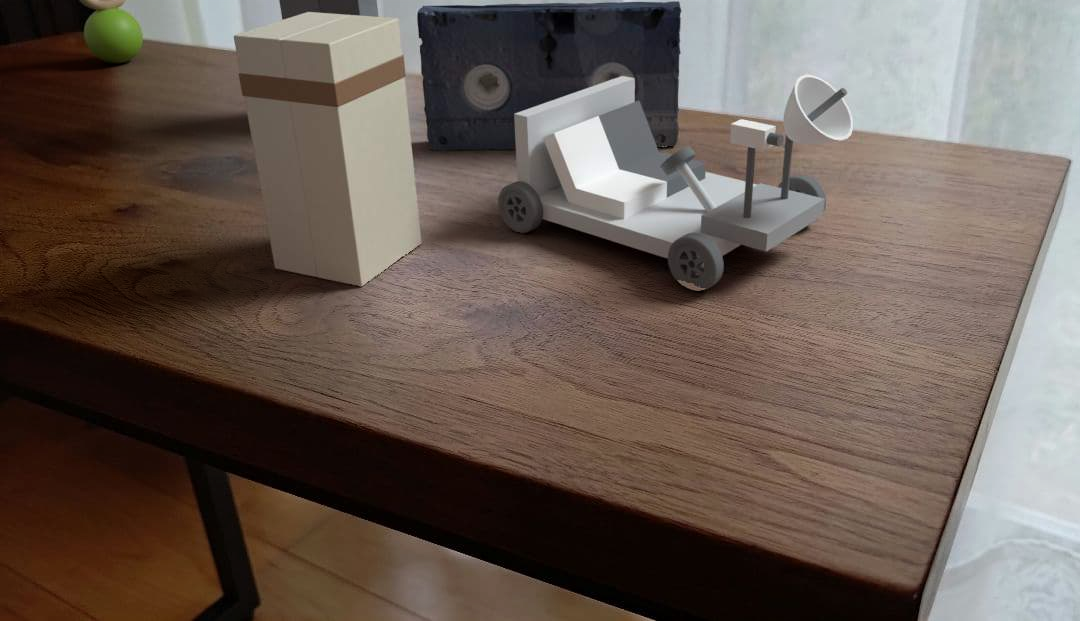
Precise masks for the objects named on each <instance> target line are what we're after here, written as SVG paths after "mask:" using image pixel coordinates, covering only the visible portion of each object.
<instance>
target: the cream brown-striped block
mask: <svg viewBox="0 0 1080 621" xmlns="http://www.w3.org/2000/svg"><path fill="white" fill-rule="evenodd" d="M233 41H234V47H235V48H234V49H235V52H236V59H237V64H238V70H239V73H238V78H239V84H240V89H241V95H242V96H243V98H244V103H245V109H246V114H247V118H248V119H247V120H248V126H249V131H250V136H251V141H252V147H253V148H252V149H253V154H254V159H255V166H256V170H257V176H258V181H259V187H260V191H261V198H262V203H263V209H264V215H265V220H266V226H267V231H268V236H269V243H270V249H271V253H272V259H273V265H274V268H275V269H276V270H281V271H285V272H290V273H294V274H299V275H305V276H308V277H309V276H310V277H312V278H313V277H314V278H318V279H323V280H329V281H332V282H337V283H343V284H346V285H351V284H352V285H351V286H356V285H357V287H363V286H365V285H366V284H368V283H369V282H370V281H372V280H373V279H375V278H376V277H377V275H378V274H379V275H380V274H382V273H383V272H385V271H386V270H387V269H389V268H390V267H391V266H390V265H392V264H393V263H394V262H396V261H397V260H398V259H400V258H401V257H402V256H404V257H406V256H405V254H407V255H409V254H410V253H411V252H410V251H412V250H413V249H414V248H415V247H417V246H418V245H419V244H421V245H422V235H421V234H422V233H421V227H420V226H421V225H420V216H419V215H420V214H419V205H418V195H417V185H416V177H415V175H416V174H415V166H414V158H413V148H412V146H413V145H412V137H411V136H412V135H411V128H410V126H411V125H410V117H409V108H408V98H407V88H406V87H407V86H406V76H407V75H406V64H405V56H404V54H403V47H402V38H401V27H400V19H399V18H397V17H387V16H386V17H383V16H378V17H372V16H358V15H352V16H351V15H344V14H330V13H316V12H306V13H303V14H300V15H297V16H294V17H291V18H287V19H284V20H282V19H280V20H278V21H274V22H272V23H269V24H266V25H262V26H259V27H255V28H253V29H250V30H247V31H244V32H240V33H237V34H235V35H233ZM417 248H418V247H417ZM414 250H415V249H414ZM414 250H413V251H414ZM413 251H412V252H413ZM409 252H410V253H409ZM408 253H409V254H408ZM400 260H401V259H400ZM397 262H398V261H397ZM397 262H396V263H397ZM393 265H394V264H393ZM393 265H392V266H393ZM389 266H390V267H389ZM388 267H389V268H388ZM385 269H386V270H385ZM384 270H385V271H384ZM381 272H382V273H381ZM379 275H378V276H379ZM375 276H376V277H375ZM374 277H375V278H374ZM368 281H369V282H368ZM367 282H368V283H367Z"/></svg>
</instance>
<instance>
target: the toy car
mask: <svg viewBox="0 0 1080 621" xmlns="http://www.w3.org/2000/svg"><path fill="white" fill-rule="evenodd" d="M847 94H848V91H847V89H846V88H845V87H841V88H840V89H839V90H837V89H836V88H835V87H834V86H833V85H832V84H830V83H829V82H827V81H826V80H824V78H821V77H819V76H816V75H813V74H804V75H801V76H799V77H798V78H797V80H796V82H795V83H794V86H793V87H792V90H791V92H790V94H789V97H788V99H787V102H786V105H785V108H784V112H783V121H782V126H783V130H784V134H785V137H784V135H783V134H782V133H776V130H777V129H776V127H777V126H776V125H774V124H773V125H772V124H769V123H768V124H767V123H762V122H758V121H754V120H746V119H742V118H741V119H739V120H736V121H733V122H732V123H731V124H730V129H729V130H730V131H729V132H730V133H729V143H730V144H733V145H739V146H742V147H747V153H746V166H745V168H746V171H745V180H741V179H738V178H737V179H736V178H733V177H729V176H725V175H721V174H717V173H713V172H709V171H707V170H706V169H707V163H706V162H703V161H700V160H696V159H694V158H695V157H696V153H695V151H694V150H693V148H692V146H690V145H687V146H685V147H683V148H681V149H679V150H677V151H676V152H675V153H673V154H670V153H667V152H662V151H659V148H657V146H656V143H655V140H654V138H653V135H652V133H651V130H650V127H649V125H648V122H647V119H646V117H645V114H644V112H643V109H642V106H641V104H640V101H636V102H635V78H631V77H625V76H621V77H618V78H615V79H612V80H609V81H606V82H603V83H601V84H598V85H595V86H592V87H589V88H586V89H584V90H581V91H578V92H575V93H572V94H569V95H566V96H564V97H561V98H558V99H555V100H552V101H549V102H546V103H544V104H541V105H538V106H535V107H532V108H529V109H527V110H524V111H521V112H518V113H515V114H514V120H515V141H516V149H515V160H516V180H517V181H514V182H512V183H509V184H506V185H505V186H504V187H502V189H501V190H500V192H499V194H498V198H497V205H498V206H497V207H498V211H499V214H500V216H501V218H502V221H503V222H504V224H506V226H507V227H508V228H509V229H511V230H512V231H514V232H516V231H518V232H520V233H519V234H526V233H528V232H531V231H534V230H535V229H537V228H538V227H539V226H540V224H541V223H542V221H543V220H545V221H547V222H551V223H554V224H558V225H561V226H564V227H567V228H570V229H573V230H576V231H579V232H582V233H586V234H589V235H592V236H595V237H598V238H602V239H605V240H608V241H611V242H614V243H618V244H620V245H623V246H626V247H630V248H632V249H636V250H639V251H641V252H645V253H649V254H652V255H655V256H658V257H662V258H665V259H667V263H668V268H669V270H670V273H671V275H672V277H673V278H674V279H675V280H676V279H677V280H681V281H685V282H687V283H693V284H694V285H695V286H697V287H699V286H700V288H706V289H707V290H708V289H710V288H712V287H713V286H715V285H716V284H717V283H718V282H719V281H720V280H721V278H722V276H723V273H724V269H725V268H724V267H725V266H724V264H725V263H724V259H723V258H724V257H723V256H725V255H727V254H728V253H730V252H732V251H733V250H735V249H737V248H738V247H740V246H742V245H743V246H745V247H748V248H752V249H756V250H758V251H763V252H768V251H769V250H771V249H773V248H774V247H776V246H778V245H779V244H781V243H782V242H784V241H785V240H787V239H788V238H791V237H792V236H793V235H795V234H797V233H798V232H800V231H802V230H803V229H805V228H806V227H808V226H810V225H811V224H813V223H814V222H816V221H818V220H819V219H820V218H822V217H823V216H824V213H825V210H826V206H827V197H826V193H825V190H824V188H823V187H822V185H821V184H820V183H819V182H818V181H817V180H816V179H815V178H813V177H812V176H810V175H807V174H803V173H802V174H800V173H798V174H793V175H791V170H792V157H793V146H794V145H793V144H794V143H796V144H801V145H807V146H808V145H809V146H812V145H814V146H815V145H816V146H817V145H826V144H830V143H831V144H832V143H836V142H840V141H844V140H847V139H848V138H849V137H851V135H852V133H853V130H854V120H853V115H852V112H851V110H850V108H849V106H848V104H847V102H846V101H845V100H844V97H845V96H847ZM784 139H785V140H784ZM784 141H785V142H784ZM783 143H784V152H783V153H784V154H783V164H782V177H781V182H780V183H779V184H778V185H777V186H773V185H771V184H766V183H762V182H760V183H758V184H757V183H754V179H755V178H754V177H755V164H756V162H755V161H756V150H761V151H766V150H768V149H770V148H772V147H781V146H782V145H783ZM809 224H810V225H809ZM518 232H517V233H518Z"/></svg>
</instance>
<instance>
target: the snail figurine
mask: <svg viewBox="0 0 1080 621" xmlns="http://www.w3.org/2000/svg"><path fill="white" fill-rule="evenodd" d="M78 1H79V2H80V3H81V4H82V5H83V6H85V7H87V8H89V9H93V10H95V11H94V12H92V14H90V15H89V17H88V18H87V19H86V22H85V24H84V28H83V36H84V41H85V44H86V46H87V48H88V49H89V50H90V52H91V53H92V54H93V55H94V56H95V57H97V58H98V59H100V60H101V61H104V62H106V63H109V64H123V63H126V62H129V61H131V60H133V59H134V58H135V57H136V56H137V55H138V54H139V52H140V51H141V49H142V47H143V43H144V42H143V41H144V36H143V30H142V28H141V25H140V23H139V22H138V20H137V19H136V18H135V17H134V16H133V15H132V14H131V13H130V12H128V11H126V10H124V9H123V8H120V7H122V6H123V5H124V4H125V3H126V1H127V0H78Z"/></svg>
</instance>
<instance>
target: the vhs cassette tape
mask: <svg viewBox="0 0 1080 621" xmlns="http://www.w3.org/2000/svg"><path fill="white" fill-rule="evenodd" d="M681 13H682V7H681V3H680V1H679V0H678V1H674V0H673V1H665V2H663V1H662V2H661V1H660V2H659V1H623V2H622V1H621V2H617V1H616V2H612V1H611V2H610V1H609V2H591V3H586V2H585V3H584V2H580V3H579V2H578V3H577V2H576V3H571V2H570V3H568V2H551V3H545V2H544V3H503V4H501V3H500V4H485V5H472V4H471V5H470V4H469V5H468V4H467V5H466V4H449V5H448V4H447V5H422V7H420V8H419V9H418V11H417V13H416V14H417V15H416V20H417V31H418V32H417V33H418V39H420V40H421V44H420V45H419V54H420V73H421V76H422V92H423V101H424V106H423V111H424V114H425V123H426V137H427V142H428V147H429V149H430V150H431V149H432V150H431V151H458V150H457V149H459V150H469V151H472V150H473V151H474V150H475V151H476V150H477V151H479V150H480V151H481V150H483V151H486V150H487V151H488V150H489V149H495V151H496V150H498V149H501V150H502V149H512V150H516V141H515V120H514V114H515V113H518V112H521V111H524V110H527V109H529V108H532V107H535V106H538V105H541V104H544V103H546V102H549V101H552V100H555V99H558V98H561V97H564V96H566V95H569V94H572V93H575V92H578V91H581V90H584V89H586V88H589V87H592V86H595V85H598V84H601V83H603V82H606V81H609V80H612V79H615V78H618V77H621V76H625V77H631V78H635V102H636V101H640V104H641V106H642V109H643V112H644V114H645V117H646V119H647V122H648V125H649V127H650V130H651V133H652V135H653V138H654V140H655V143H656V146H657V147H662V146H664V147H665V146H673V147H675V146H676V145H677V143H678V138H679V130H680V129H679V128H680V127H679V111H680V110H679V88H680V79H679V77H680V55H681V46H680V43H681V37H680V36H681V34H680V33H681V24H682V23H681V22H682V21H681V20H682V19H681V18H682V17H681ZM449 149H450V150H449ZM484 149H485V150H484ZM489 151H490V150H489Z"/></svg>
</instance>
